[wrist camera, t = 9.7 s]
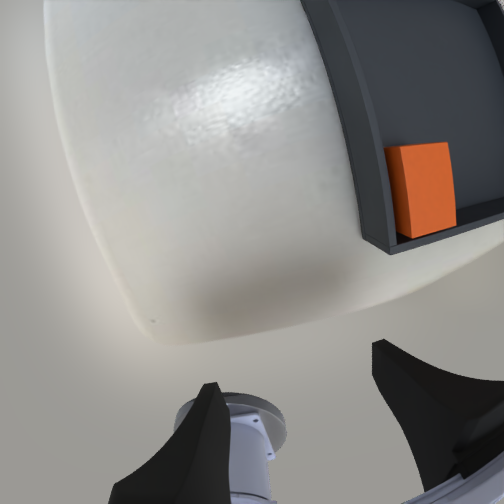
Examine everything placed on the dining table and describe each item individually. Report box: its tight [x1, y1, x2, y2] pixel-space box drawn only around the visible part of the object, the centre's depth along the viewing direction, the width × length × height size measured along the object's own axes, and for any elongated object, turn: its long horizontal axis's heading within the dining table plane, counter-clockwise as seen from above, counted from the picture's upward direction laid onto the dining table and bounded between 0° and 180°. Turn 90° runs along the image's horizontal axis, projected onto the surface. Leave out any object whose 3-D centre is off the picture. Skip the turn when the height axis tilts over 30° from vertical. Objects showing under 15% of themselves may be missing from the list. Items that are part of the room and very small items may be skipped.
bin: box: [301, 0, 504, 255], centre depth 15 cm, size 23×23×4 cm
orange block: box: [383, 142, 456, 238], centre depth 17 cm, size 6×4×5 cm
